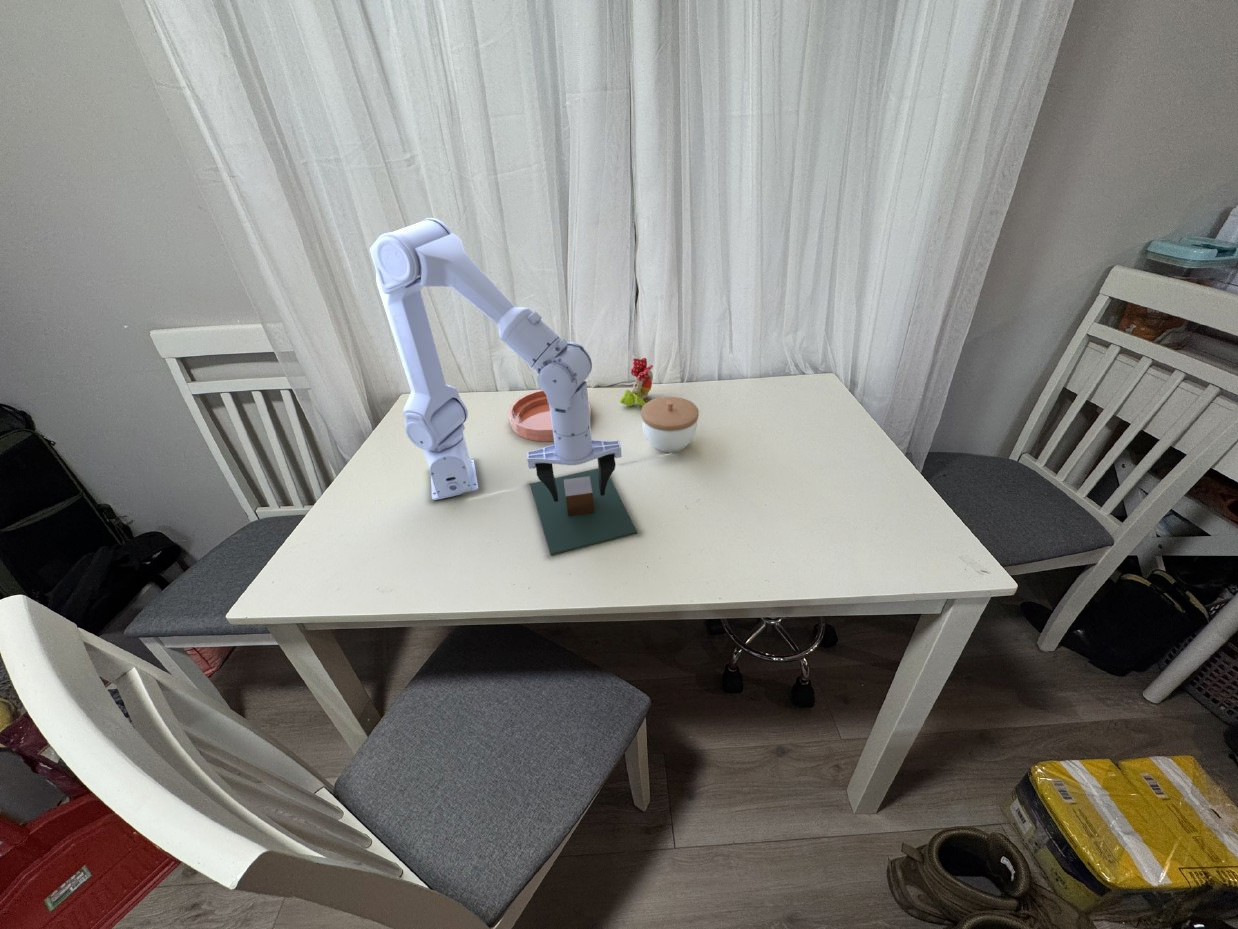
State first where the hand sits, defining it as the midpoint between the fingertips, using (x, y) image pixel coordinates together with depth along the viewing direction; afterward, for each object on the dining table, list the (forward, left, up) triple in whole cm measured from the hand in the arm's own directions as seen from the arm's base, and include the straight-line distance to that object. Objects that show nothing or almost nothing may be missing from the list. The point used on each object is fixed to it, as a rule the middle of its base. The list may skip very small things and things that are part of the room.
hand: (579, 494), depth 86 cm
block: (0, 0, -2) cm, 2 cm away
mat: (0, 0, -3) cm, 3 cm away
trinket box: (+12, -21, -3) cm, 24 cm away
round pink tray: (+29, -1, -3) cm, 29 cm away
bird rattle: (+29, -21, -3) cm, 36 cm away
